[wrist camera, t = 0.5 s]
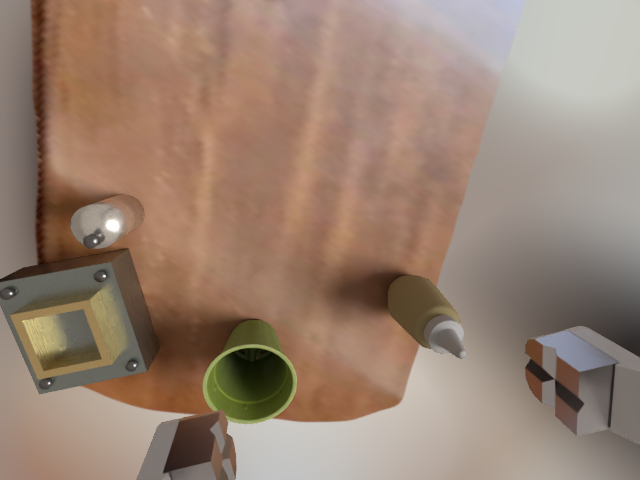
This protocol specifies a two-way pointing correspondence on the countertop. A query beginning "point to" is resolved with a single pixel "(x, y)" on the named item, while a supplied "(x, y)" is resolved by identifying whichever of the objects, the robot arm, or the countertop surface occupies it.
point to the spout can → (107, 221)
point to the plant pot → (250, 375)
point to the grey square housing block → (79, 320)
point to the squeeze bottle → (426, 314)
